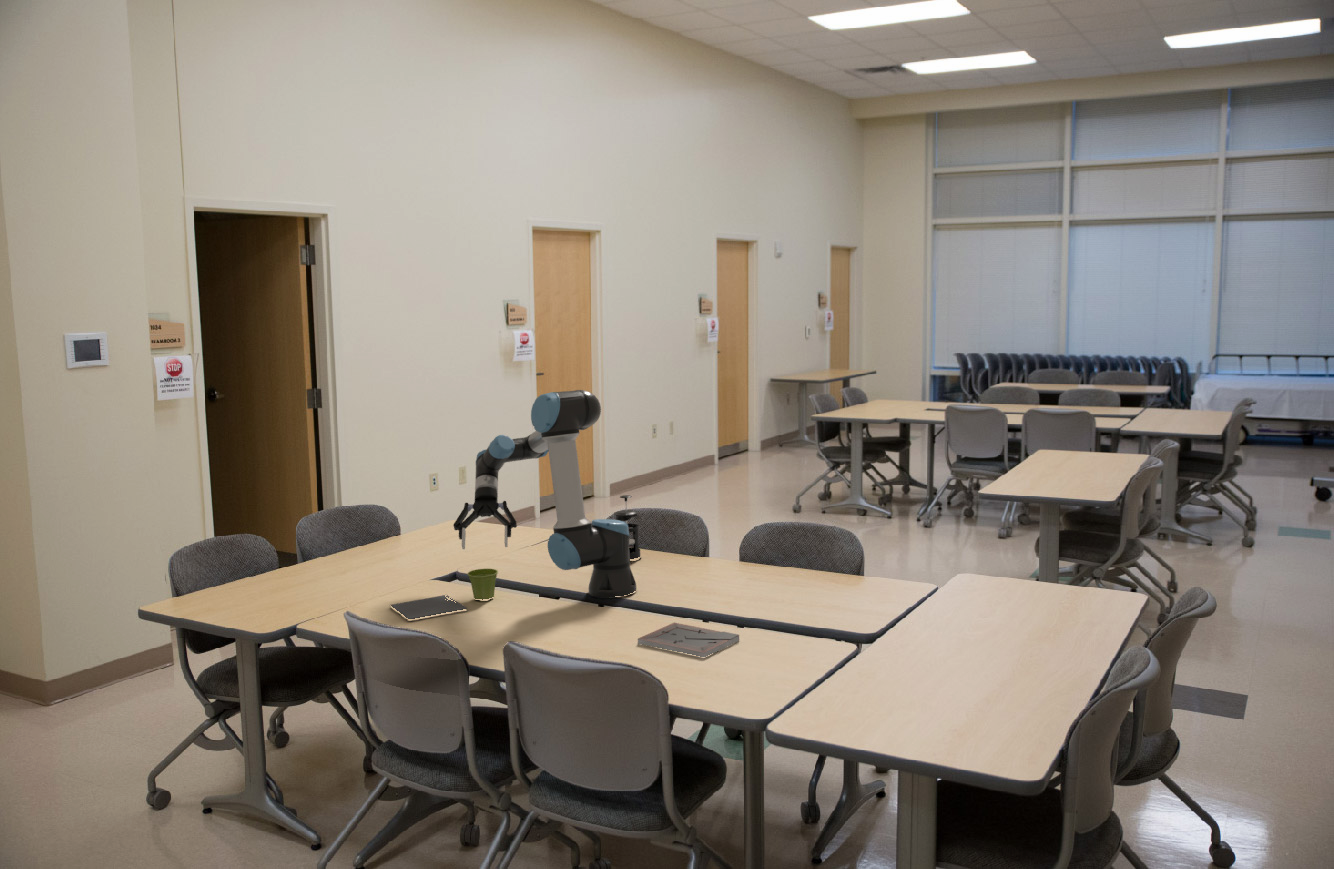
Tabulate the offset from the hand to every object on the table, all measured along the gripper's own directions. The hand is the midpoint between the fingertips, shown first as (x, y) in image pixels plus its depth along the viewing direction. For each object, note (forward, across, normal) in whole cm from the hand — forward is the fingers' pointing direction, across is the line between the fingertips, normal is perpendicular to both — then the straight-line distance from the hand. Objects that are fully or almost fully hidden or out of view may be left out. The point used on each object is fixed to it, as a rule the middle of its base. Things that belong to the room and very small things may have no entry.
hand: (484, 546), depth 336 cm
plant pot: (+18, 0, +3) cm, 18 cm away
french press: (-12, +47, +33) cm, 59 cm away
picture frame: (+56, +59, -34) cm, 88 cm away
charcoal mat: (+24, -16, -3) cm, 29 cm away
